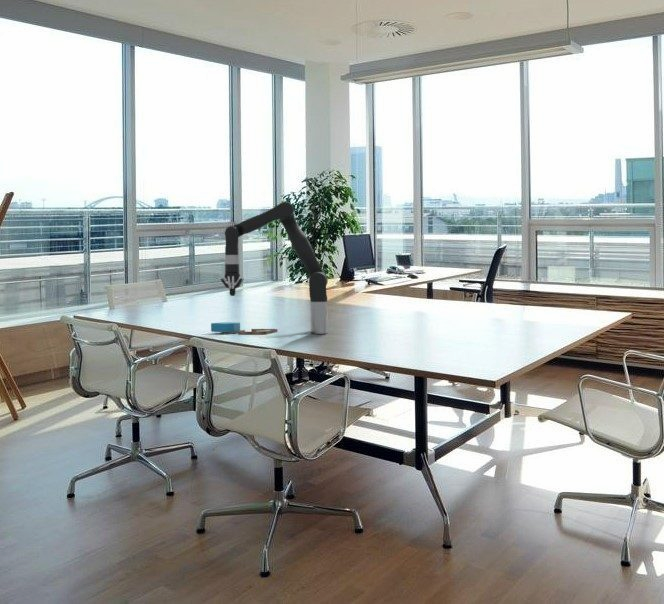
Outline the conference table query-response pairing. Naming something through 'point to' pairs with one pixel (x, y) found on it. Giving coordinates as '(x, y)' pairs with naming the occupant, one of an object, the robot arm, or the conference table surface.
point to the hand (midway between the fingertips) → (232, 295)
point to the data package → (225, 327)
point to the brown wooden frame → (258, 332)
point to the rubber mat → (232, 332)
